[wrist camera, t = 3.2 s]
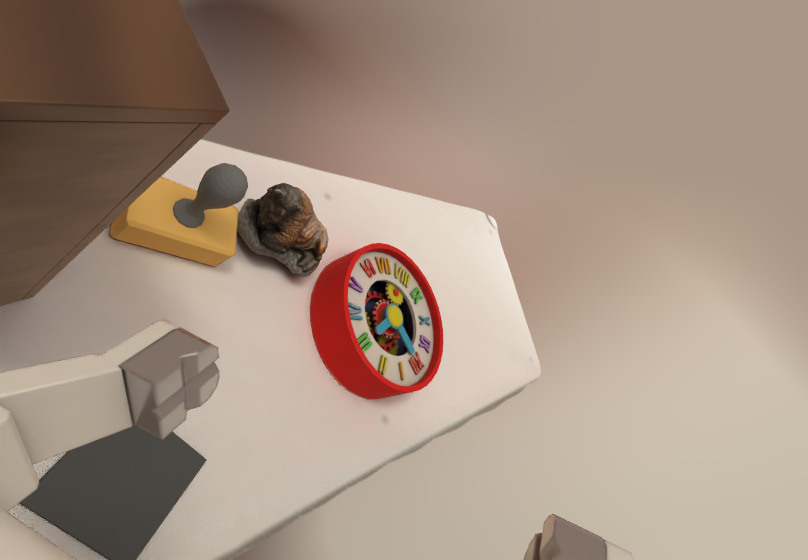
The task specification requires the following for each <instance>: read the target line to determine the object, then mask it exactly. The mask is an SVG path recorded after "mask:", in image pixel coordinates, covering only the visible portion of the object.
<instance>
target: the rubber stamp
mask: <svg viewBox="0 0 808 560" xmlns="http://www.w3.org/2000/svg"><path fill="white" fill-rule="evenodd" d="M247 188H248V183H247V178H246V176H245V174H244V173H243V171H242V170H241V169H239V168H238V167H237V166H235V165H230V164H226V163H223V164H219V165H216V166H214V167H212V168H210V169H209V170H207V171H206V173H205V174H204V176H203V178H202V180H201V182H200V185H199V188H198V191H196V190H193V189H191V188H188V187H186V186H183V185H181V184H178V183H176V182H173V181H171V180H168V179H166V178H163V177H160V178H159V179H158V180H157V181H155V182H154V183H153V184H152V185H151V186H150V187H149V188H148V189H147V190H146V191H145V192H144V193H143V194H142V195H141V196H140V197H138V198H137V199H136V200H135V201H134V202H133V203H132V204H131V205H130V206H129V207H128V208H127V209H126V210H125V211H124V212H123V213H121V214H120V215H119V216H118V217H117V218H116V219H115V220H114V221H113V222H112V223H111V229H110V234H109V235H110V236H112V237H113V238H115V239H118V240H122V241H125V242H129V243H133V244H136V245H140V246H143V247H147V248H151V249H154V250H158V251H161V252H165V253H169V254H172V255H176V256H179V257H183V258H187V259H190V260H194V261H197V262H201V263H204V264H208V265H212V266H217V265H218V264H220V263H222V262H223V261H225V260H227V259H228V258H230V257H231V256H233V255H235V249H236V234H237V219H238V209H237V208H236V207H235V206H233V205H234V204H236V203H238V202H239V201H241V200H242V199H243V197H244V195H245V193H246V190H247Z"/></svg>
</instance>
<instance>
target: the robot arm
mask: <svg viewBox="0 0 808 560" xmlns="http://www.w3.org/2000/svg"><path fill="white" fill-rule="evenodd" d="M218 358H219V353H218V347H216V346H215V345H213V344H211V343H209V342H207V341H205V340H203V339H201V338H200V337H198V336H196V335H194V334H192V333H190V332H188V331H186V330H185V329H183V328H181V327H179V326H177V325H175V324H173V323H171V322H169V321H167V320H160V321H156V322H154V323H153V324H151V325H150V326H148V327H146V328H145V329H143V330H141V331H140V332H138V333H136V334H135V335H133V336H131V337H130V338H128V339H127V340H125V341H123V342H122V343H120V344H118V345H117V346H115V347H113V348H112V349H110V350H108V351H107V352H105V353H103V354H102V355H100V356H98V355H96V354H90V355H85V356H80V357H75V358H70V359H65V360H59V361H54V362H49V363H44V364H39V365H34V366H29V367H24V368H19V369H13V370H8V371H3V372H0V560H76V559H74V558H73V557H71V556H70V555H69V554H67V553H66V552H64V551H63V550H61V549H60V548H59V547H57V546H56V545H54V544H53V543H51V542H50V541H48V540H47V539H46V538H44V537H43V536H41V535H40V534H38V533H37V532H35V531H34V530H33V529H31V528H30V527H28V526H27V525H25V524H24V523H23V522H21V521H20V520H18V519H17V518H15V517H14V516H12V515H11V514H10V513H8V511H10V510H11V509H12V508H13V507H15V506H16V505H17V504H18V503H20V502H21V501H22V500H23V499H25V498H26V497H27V496H28V495H30V494H31V493H32V492H34V491H35V490H36V489H37V488H38V485H39V482H40V481H39V479H38V477H37V474H36V472H35V469H34V467H33V464H35V463H38V462H41V461H43V460H46V459H48V458H51V457H54V456H56V455H59V454H62V453H64V452H67V451H69V450H72V449H75V448H77V447H80V446H82V445H85V444H88V443H90V442H93V441H96V440H98V439H101V438H103V437H106V436H109V435H111V434H114V433H116V432H119V431H122V430H124V429H127V428H130V427H132V426H133V425H132V424H134V425H135V426H137V427H139V428H141V429H143V430H145V431H147V432H149V433H150V434H152V435H154V436H156V437H158V438H160V439H162V440H163V439H164V438H165V437H166V436H167V435H169V434H170V433H171V432H172V431H173V430H174V429H175V428H177V427H178V426H179V425H180V424H181V423H182V422H183V421H185V420H186V415H187V411H188V410H190V409H193V408H197V407H200V406H201V405H202V404H204V403H205V402H206V401H207V400H208V399H209V398H210V397H211V395H212V394H213V392H214V390H215V389H216V387H217V385H218V381H219V370H218V368H217V366H216V364H215V363H214V361H215V360H217V359H218ZM524 560H634V559H633V557H632V554H631V553H630V552H628V551H627V550H625V549H623V548H621V547H618V546H617V545H614V544H613V543H610V542H608V541H606V540H604V539H602V537H600V536H598V535H595V534H594V533H591V532H590V531H588V530H585V529H583V528H581V527H579V526H577V525H575V524H573V523H571V522H569V521H567V520H565V519H563V518H561V517H559V516H556V515H554V514H552V515H549V516H548V518H547V519H546V520H545V522H544V526H543V532H542V533H539V534H535V536H534V537H533V539H532V540H531V542H530V544H529V546H528V549H527V551H526V554H525V556H524Z"/></svg>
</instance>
